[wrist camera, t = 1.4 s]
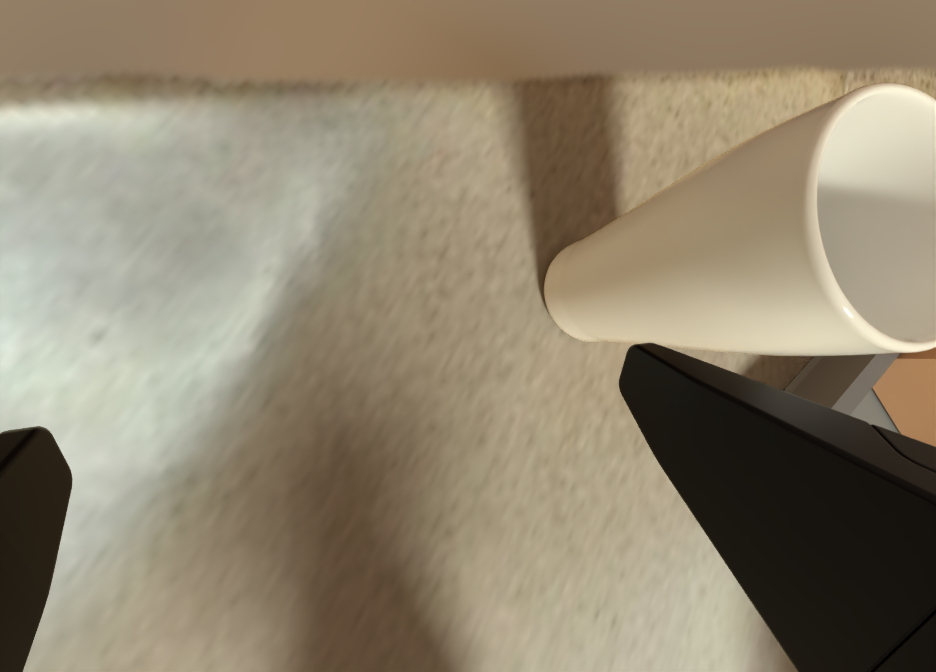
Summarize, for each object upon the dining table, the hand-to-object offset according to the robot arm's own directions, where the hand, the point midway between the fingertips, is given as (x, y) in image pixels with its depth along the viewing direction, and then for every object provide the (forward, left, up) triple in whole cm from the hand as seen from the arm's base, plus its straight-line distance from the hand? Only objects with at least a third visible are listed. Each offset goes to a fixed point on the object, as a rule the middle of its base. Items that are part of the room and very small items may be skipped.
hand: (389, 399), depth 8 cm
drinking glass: (+2, -13, -15) cm, 20 cm away
